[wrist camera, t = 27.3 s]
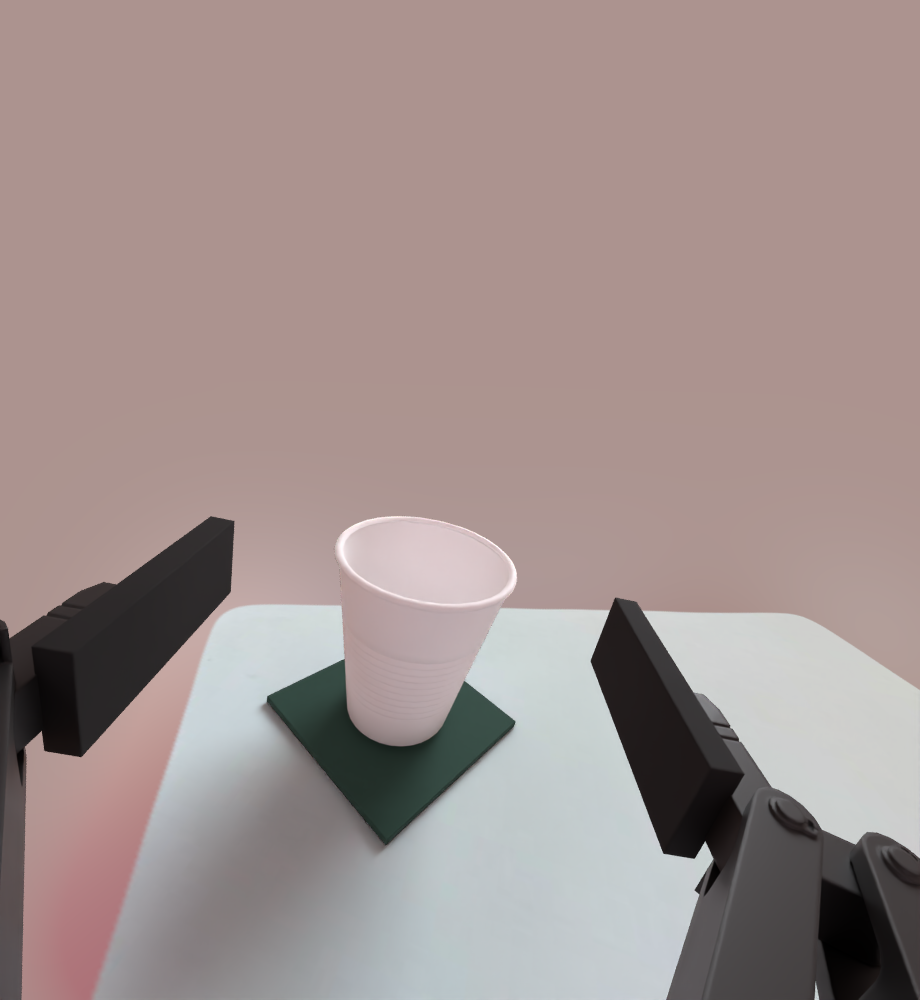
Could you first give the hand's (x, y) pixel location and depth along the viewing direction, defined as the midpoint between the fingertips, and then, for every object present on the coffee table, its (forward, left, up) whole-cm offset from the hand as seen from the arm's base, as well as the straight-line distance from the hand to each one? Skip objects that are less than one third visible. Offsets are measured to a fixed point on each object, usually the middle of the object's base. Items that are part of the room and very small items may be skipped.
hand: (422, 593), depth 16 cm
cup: (+7, +6, -14) cm, 17 cm away
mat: (+7, +6, -14) cm, 17 cm away
